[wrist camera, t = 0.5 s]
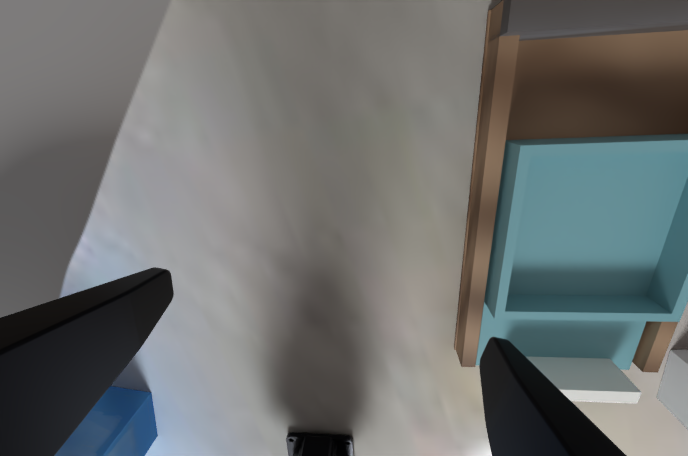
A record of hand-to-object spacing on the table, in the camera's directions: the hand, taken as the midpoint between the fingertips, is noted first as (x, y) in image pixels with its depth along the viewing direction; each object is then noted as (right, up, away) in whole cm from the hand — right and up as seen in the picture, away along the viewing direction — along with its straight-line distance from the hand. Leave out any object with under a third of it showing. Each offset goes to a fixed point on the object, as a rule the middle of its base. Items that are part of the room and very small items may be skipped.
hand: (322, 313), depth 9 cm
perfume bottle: (-22, -16, +24) cm, 36 cm away
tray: (+16, 0, +13) cm, 21 cm away
